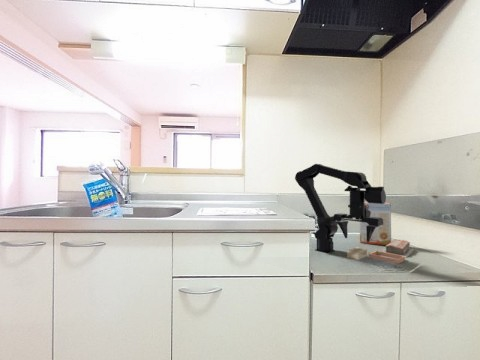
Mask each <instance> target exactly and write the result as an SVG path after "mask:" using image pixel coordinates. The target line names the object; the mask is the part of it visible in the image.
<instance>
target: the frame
mask: <svg viewBox="0 0 480 360" xmlns="http://www.w3.org/2000/svg"><path fill="white" fill-rule="evenodd" d="M381 251H382V250H375V251H373V252H369V253H370V254H369V258H373V259H378V260H383V261H387V262H392V263H397V265H399V264H401V263H402V262H404V261H405V260H406V258H405V256H402V255H396V254H391V253H386V252H381ZM378 255H381V256H378ZM383 256H386V257H383ZM388 257H391V258H388ZM393 258H396V259H393Z"/></svg>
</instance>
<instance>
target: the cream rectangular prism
mask: <svg viewBox="0 0 480 360" xmlns="http://www.w3.org/2000/svg"><path fill="white" fill-rule="evenodd" d="M367 252H368V249H367V248H362V247H357V246H356V247H352V248H349V249H347V252H346V253H347V254H346V256H347V258H346V259H349V258H351V259H350V260H353V259H356V260H355V261H358V260H360V259H362V258H364V257H366V256H367Z"/></svg>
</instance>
